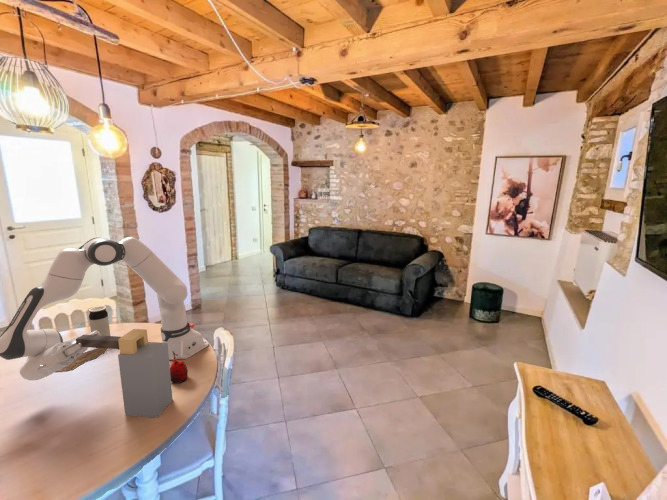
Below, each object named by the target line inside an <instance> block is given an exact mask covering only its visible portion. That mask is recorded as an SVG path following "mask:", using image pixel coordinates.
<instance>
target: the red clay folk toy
mask: <svg viewBox="0 0 667 500" xmlns="http://www.w3.org/2000/svg"><path fill="white" fill-rule="evenodd" d="M172 352H173V351H172ZM172 355H174V360H172V362H171V365H170V376H171V384H172V383H173V384H175V383H176V384H177V383H179V384H180V383H182V382H185V381H186V380H188V377H189V375H188V374H189V373H188V371H189V370H188V368H187V364H186V363H185V361H183V360H181V359H175V358H176V357H175V355H176V356H178V354H175V353H174V352H173V354H172Z"/></svg>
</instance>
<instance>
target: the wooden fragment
mask: <svg viewBox="0 0 667 500" xmlns="http://www.w3.org/2000/svg"><path fill="white" fill-rule="evenodd" d="M107 349H108V348H93V349H91V350H86V351H85V352H84V353H82V354H81V355H80V356H79V357H78V358H77V359H76V360H75V361H74V362H73V363H71V364H70V365H68V366H66V367H64V368H62V369H60V370H57V371H56V372H55V373H65V372H69V371H73V370H75V369H76V368H77V367H80V366H81V365H84V364H85V363H88V362H89V361H92V360H94V359H97V358H99V356H101V355H104V354H105V352H106V351H107Z"/></svg>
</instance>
